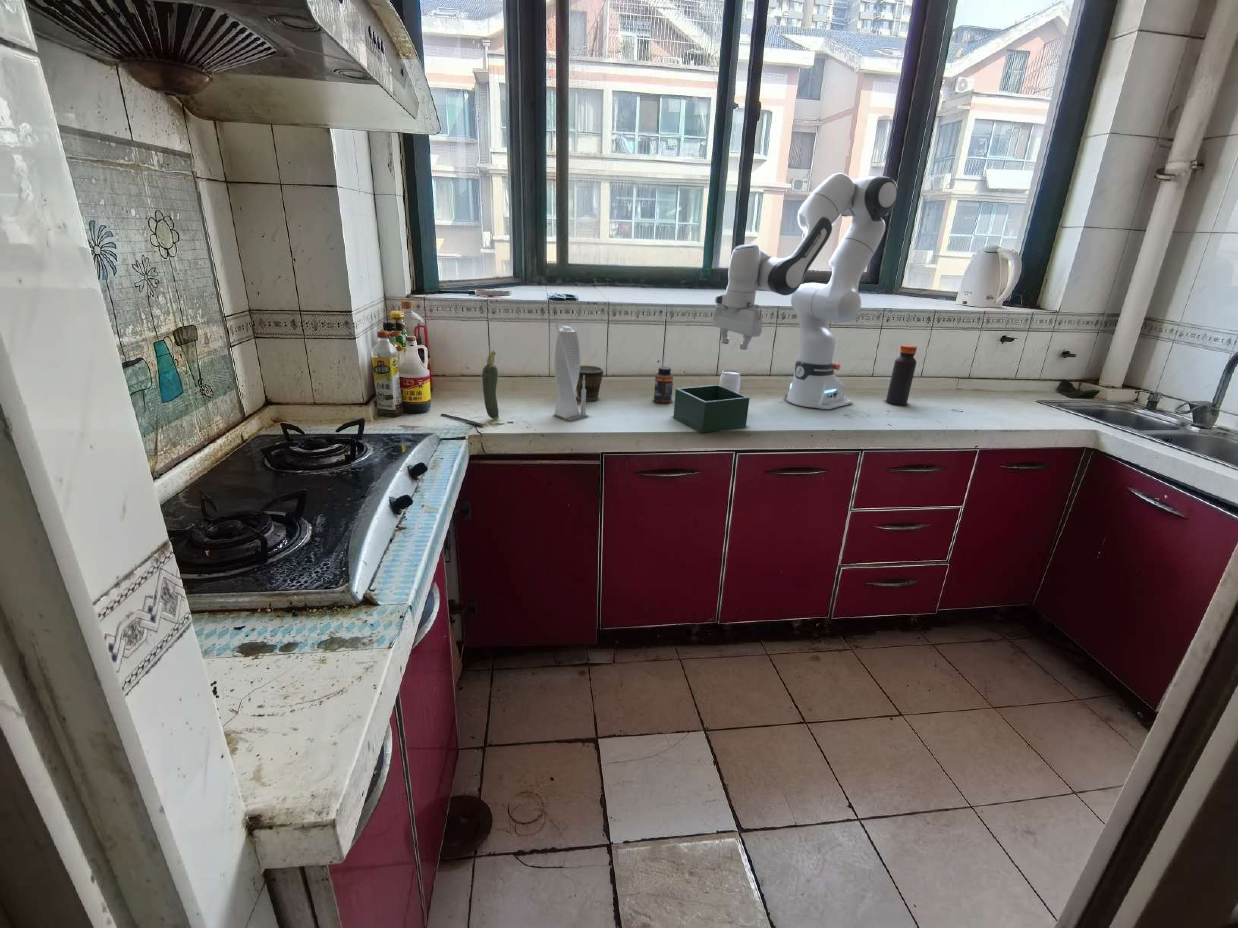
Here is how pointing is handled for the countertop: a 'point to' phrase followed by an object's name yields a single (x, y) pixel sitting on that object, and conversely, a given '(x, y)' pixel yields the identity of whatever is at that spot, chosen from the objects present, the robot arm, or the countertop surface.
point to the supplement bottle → (663, 385)
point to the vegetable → (490, 387)
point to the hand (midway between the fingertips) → (733, 346)
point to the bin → (711, 408)
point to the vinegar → (902, 376)
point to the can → (730, 380)
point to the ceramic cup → (589, 382)
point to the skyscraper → (568, 373)
